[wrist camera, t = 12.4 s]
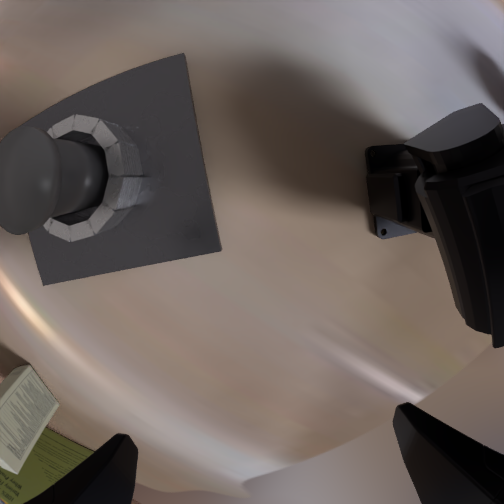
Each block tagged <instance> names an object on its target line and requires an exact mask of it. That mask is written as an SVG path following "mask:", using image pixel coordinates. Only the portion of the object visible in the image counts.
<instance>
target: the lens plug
mask: <svg viewBox="0 0 504 504" xmlns="http://www.w3.org/2000/svg"><path fill="white" fill-rule="evenodd" d="M108 179H109V173H108V167H107V161H106V154H105V150H104V149H103V148H102V147H101V146H98V145H93V144H87V143H81V142H75V141H68V140H62V139H55V138H52V137H51V136H50V134H48V133H47V132H46V131H44V130H43V129H40V128H35V127H29V126H22V127H18V128H15V129H14V130H12V131H11V132H9V133H8V134H7V135H6V136H5V137H4V138H3V140H2V141H1V142H0V225H1V226H2V227H3V228H4V229H5V230H6V231H8V232H9V233H12V234H15V235H21V234H25V233H28V232H31V231H34V230H37V229H39V228H40V227H41V226H43V225H44V224H45V223H46V222H47V220H48V219H49V218H51V217H55V216H59V215H63V214H67V213H71V212H75V211H79V210H84V209H88V208H92V207H97V206H100V205H101V203H102V202H103V198H104V194H105V190H106V186H107V182H108Z"/></svg>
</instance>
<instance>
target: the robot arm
mask: <svg viewBox="0 0 504 504" xmlns="http://www.w3.org/2000/svg"><path fill="white" fill-rule="evenodd" d="M371 150H373V151H374V153H375V156H374V157H373V156H371ZM365 156H366V162H367V168H368V176H367V177H366V180H367V187H368V194H369V202H370V211H371V213H372V214H373V215H374V223H375V233H376V235H377V237H379V238H381V239H387V238H392V237H397V236H402V235H407V234H412V233H417V232H419V233H421V234H424V235H427V236H429V237H432V238H435V240H436V242H437V245H438V248H439V251H440V254H441V257H442V260H443V263H444V266H445V269H446V273H447V276H448V279H449V283H450V286H451V290H452V294H453V298H454V302H455V306H456V308H457V309H458V311H459V312H460V314H461V316H462V317H463V318H464V319H465V322H466V325H467V326H469V327H471V328H472V329H474V330H476V331H479V332H482V333H486V334H491V335H492V345H493V347H494V348H499V347H503V346H504V124H501V122H500V120H499V118H498V117H497V116H496V115H495V114H494V113H493V112H491V111H490V110H489V109H488V108H487V107H486V106H484V105H483V104H482V103H479V104H476V105H473V106H470V107H467V108H464V109H461V110H458V111H455V112H453V113H451V114H449V115H448V116H446V117H445V118H443V119H442V120H440V121H438V122H437V123H435V124H434V125H432V126H430V127H429V128H427V129H426V130H424V131H422V132H421V133H419V134H418V135H416V136H415V137H413V138H411V139H410V140H408V141H407V142H405V143H404V144H397V145H381V146H371V147H368V148H367V149H366V151H365ZM382 229H384V233H383V234H382V235H381V230H382ZM393 427H394V430H395V434H396V437H397V440H398V444H399V447H400V450H401V454H402V457H403V460H404V463H405V465H406V468H407V470H408V472H409V475H410V477H411V479H412V482H413V484H414V486H415V489H416V491H417V494H418V496H419V498H420V501H421V503H422V504H504V455H503V454H501V453H499V452H497V451H495V450H493V449H491V448H489V447H487V446H485V445H484V446H483V444H481V443H479V442H477V441H475V440H474V439H472V438H470V437H468V436H466V435H465V434H463V433H461V432H459V431H458V430H456V429H454V428H452V427H450V426H449V425H447V424H445V423H443V422H442V421H440V420H438V419H436V418H435V417H433V416H431V415H429V414H428V413H426V412H425V411H423V410H421V409H419V408H418V407H416V406H415V405H413V404H411V403H409V402H406V403H403V404H400V405H398V406H397V407H396V410H395V414H394V418H393ZM137 460H138V449H137V447H136V445H135V444H134V442H133V441H132V439H131V438H130V436H129V435H127V434H121V433H118V434H116V435H114V436H113V437H112V438H111V439H109V440H108V441H107V442H106V443H105V444H103V445H102V446H101V447H100V448H99V449H97V450H96V451H95V452H94V453H92V454H91V455H90V456H89V457H87V458H86V459H85V460H84V461H83V462H81V463H80V464H79V465H77V466H76V467H75V468H74V469H72V470H71V471H70V472H69V473H67V474H66V475H65V476H63V477H62V478H61V479H59V480H58V481H57V482H55V483H54V484H53V485H51V486H50V487H49V488H47V489H46V490H44V491H43V492H42V493H40V494H39V495H37V496H35V497H34V498H32V499H30V500H28V501H27V502H25V503H23V504H131V502H132V498H133V493H134V488H135V480H136V469H137Z"/></svg>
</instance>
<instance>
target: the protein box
mask: <svg viewBox="0 0 504 504" xmlns="http://www.w3.org/2000/svg"><path fill="white" fill-rule="evenodd" d="M92 453H94V452H93V451H91V450H89V449H87V448H85V447H83V446H80V445H78V444H76V443H74V442H72V441H70V440H68V439H67V438H65V437H63V436H61V435H59V434H57V433H55V432H54V431H52V430H50V429H48V428H47V427H45V428H44V430H43V432H42V433H41V435H40V437H39V438H38V440H37V442H36V443H35V445H34V446H33V448H32V450H31V452H30V453H29V455H28V457H27V459H26V460H25V462H24V464H23V466H22V468H21V469H20V471H19V473H18V475H17V474H15V473H13V472H10V471H8V470H6V469H4V468H2V467H1V466H0V502H1V503H2V504H23V503H25V502H27V501H28V500H30V499H32V498H34V497H35V496H37V495H39V494H40V493H42V492H43V491H44V490H46V489H47V488H49V487H50V486H51V485H53V484H54V483H55V482H57V481H58V480H59V479H61V478H62V477H63V476H65V475H66V474H67V473H69V472H70V471H71V470H72V469H74V468H75V467H76V466H77V465H79V464H80V463H81V462H83V461H84V460H85V459H86V458H87V457H89V456H90V455H91V454H92Z"/></svg>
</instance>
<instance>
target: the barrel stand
mask: <svg viewBox="0 0 504 504" xmlns="http://www.w3.org/2000/svg"><path fill="white" fill-rule="evenodd" d="M22 126H29V127H35V128H40V129H43V130H44V131H46V132H47V133H48V134H50V136H51V137H52V138H55V139H62V140H68V141H75V142H81V143H87V144H93V145H98V146H101V147H102V148H103V149H104V150H105V154H106V161H107V167H108V173H109V179H108V182H107V186H106V190H105V194H104V198H103V202H102V203H101V205H100V206H97V207H92V208H88V209H84V210H79V211H75V212H71V213H67V214H63V215H59V216H55V217H51V218H49V219H48V220H47V222H46V223H45V224H44V225H43V226H41V227H40V228H39V229H37V230H34V231H31V232H28V233H29V238H30V242H31V245H32V249H33V253H34V257H35V260H36V264H37V267H38V270H39V273H40V277H41V280H42V283H43V286H44V285H49V284H54V283H59V282H64V281H69V280H74V279H80V278H85V277H90V276H95V275H100V274H105V273H110V272H115V271H120V270H125V269H131V268H136V267H141V266H146V265H151V264H157V263H162V262H167V261H172V260H177V259H183V258H188V257H193V256H198V255H204V254H209V253H214V252H220V251H221V250H222V247H221V242H220V237H219V233H218V228H217V223H216V218H215V214H214V209H213V204H212V199H211V194H210V189H209V184H208V179H207V174H206V169H205V164H204V159H203V153H202V148H201V143H200V137H199V132H198V126H197V121H196V115H195V110H194V104H193V98H192V92H191V87H190V81H189V75H188V68H187V62H186V56H185V54H184V53H182V54H178V55H174V56H171V57H167V58H164V59H161V60H158V61H154V62H151V63H148V64H145V65H142V66H140V67H137V68H134V69H131V70H129V71H126V72H123V73H121V74H118V75H116V76H113V77H111V78H109V79H106V80H104V81H102V82H99V83H97V84H95V85H93V86H90V87H88V88H86V89H84V90H82V91H80V92H78V93H76V94H74V95H72V96H70V97H68V98H66V99H64V100H62V101H61V102H59V103H57V104H55V105H53V106H52V107H50V108H48V109H46V110H45V111H43V112H41V113H40V114H38V115H36V116H35V117H33V118H32V119H30V120H28V121H27V122H25V123H24V124H22V125H21V126H19V127H22Z"/></svg>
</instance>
